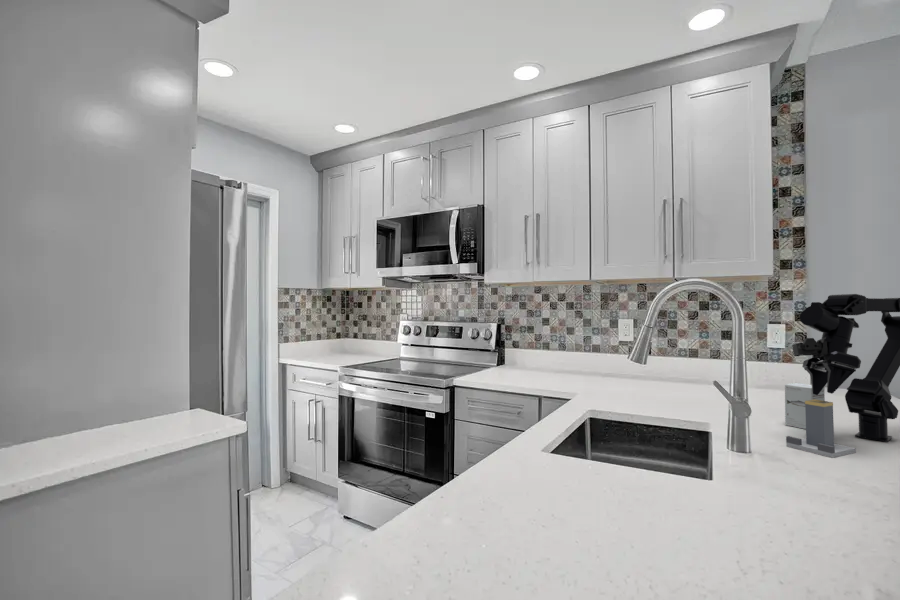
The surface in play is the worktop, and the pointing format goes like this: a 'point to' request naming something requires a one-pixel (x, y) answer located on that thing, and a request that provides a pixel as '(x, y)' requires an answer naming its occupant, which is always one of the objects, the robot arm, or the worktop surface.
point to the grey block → (819, 422)
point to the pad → (819, 447)
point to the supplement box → (798, 403)
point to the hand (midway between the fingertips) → (822, 393)
